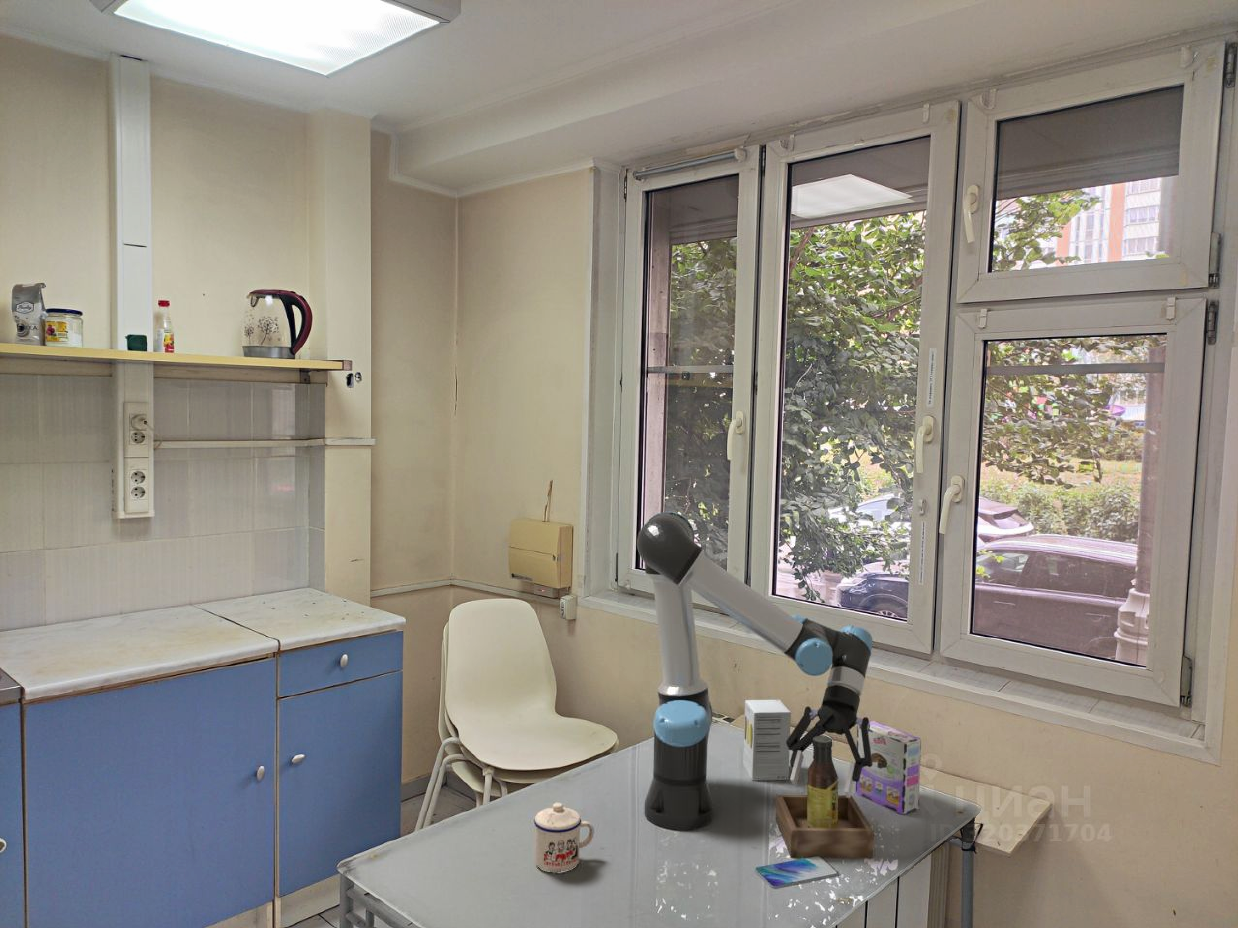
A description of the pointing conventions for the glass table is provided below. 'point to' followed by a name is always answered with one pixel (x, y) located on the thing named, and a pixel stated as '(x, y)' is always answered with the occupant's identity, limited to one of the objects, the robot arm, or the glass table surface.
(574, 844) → the teacup with lid
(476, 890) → the glass table surface
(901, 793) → the candy box
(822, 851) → the walled box
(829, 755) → the sauce bottle
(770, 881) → the smartphone
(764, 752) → the supplement box
